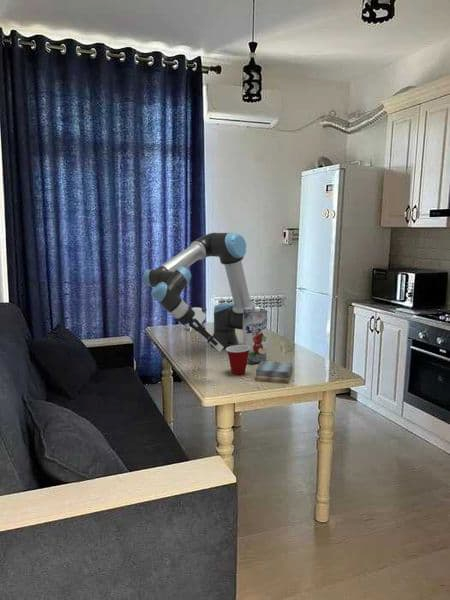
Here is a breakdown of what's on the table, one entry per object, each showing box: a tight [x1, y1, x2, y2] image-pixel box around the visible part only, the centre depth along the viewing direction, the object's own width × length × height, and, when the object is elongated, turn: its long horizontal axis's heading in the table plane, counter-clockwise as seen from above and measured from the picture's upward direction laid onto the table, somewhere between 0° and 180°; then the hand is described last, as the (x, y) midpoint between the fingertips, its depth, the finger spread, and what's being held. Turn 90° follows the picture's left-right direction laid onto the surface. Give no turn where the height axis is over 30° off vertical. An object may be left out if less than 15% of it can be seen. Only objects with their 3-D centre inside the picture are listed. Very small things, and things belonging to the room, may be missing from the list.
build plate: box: [254, 360, 293, 385], centre depth 202 cm, size 14×20×4 cm
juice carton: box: [242, 306, 268, 365], centre depth 221 cm, size 9×10×27 cm
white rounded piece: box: [189, 306, 207, 331], centre depth 286 cm, size 12×11×15 cm
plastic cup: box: [225, 344, 250, 376], centre depth 203 cm, size 11×11×12 cm
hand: (217, 345), depth 199 cm, fingers open, 13 cm apart
